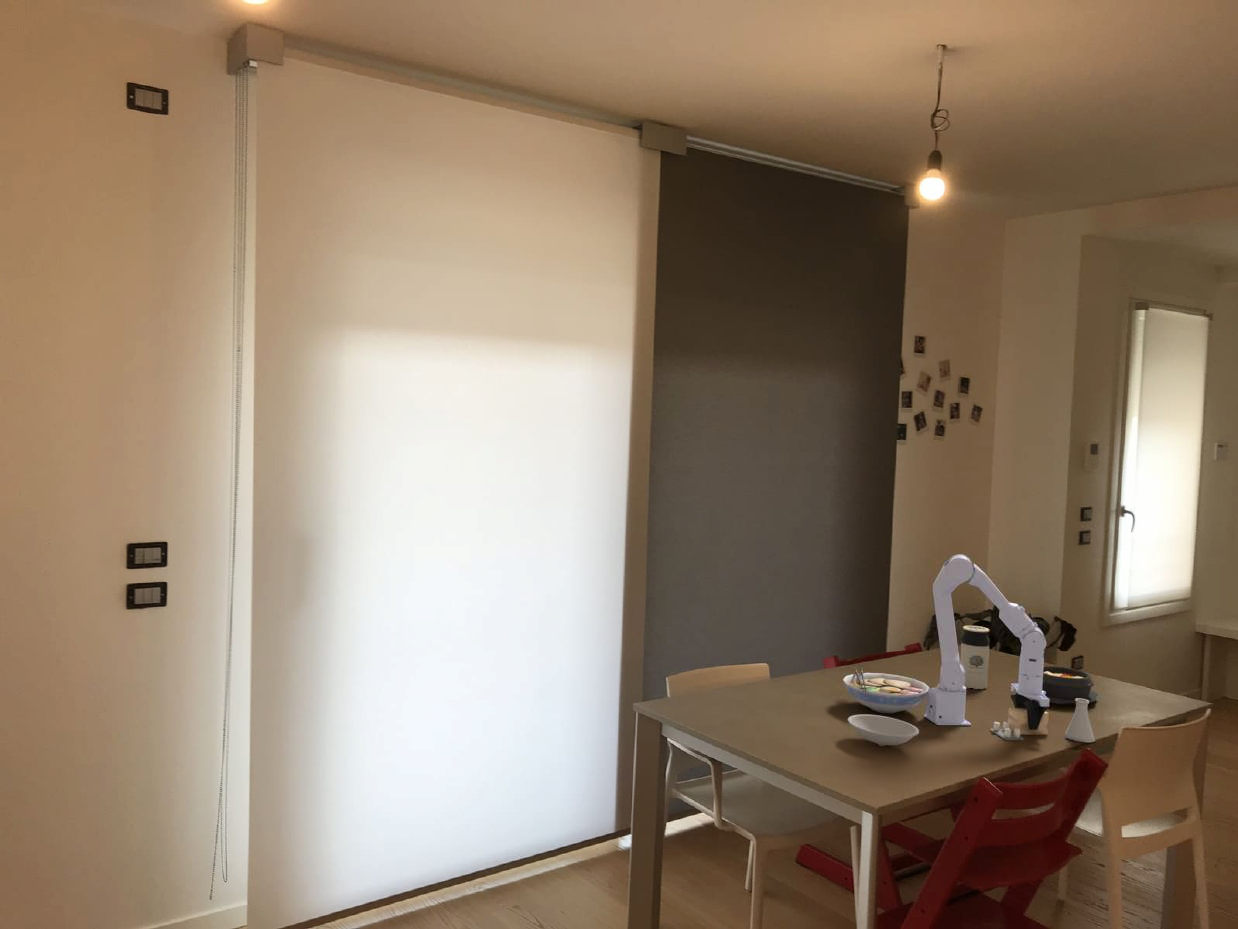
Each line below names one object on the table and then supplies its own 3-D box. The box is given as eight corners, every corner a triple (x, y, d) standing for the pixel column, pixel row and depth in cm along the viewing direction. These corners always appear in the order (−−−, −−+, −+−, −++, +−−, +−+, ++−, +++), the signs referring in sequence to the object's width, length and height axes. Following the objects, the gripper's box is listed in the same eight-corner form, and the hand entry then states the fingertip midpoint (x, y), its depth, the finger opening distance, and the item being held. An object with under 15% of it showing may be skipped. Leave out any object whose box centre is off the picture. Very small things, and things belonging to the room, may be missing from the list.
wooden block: (1016, 734, 242) (1017, 713, 242) (1007, 729, 247) (1008, 708, 247) (1047, 734, 244) (1048, 713, 243) (1037, 729, 248) (1039, 708, 248)
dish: (833, 740, 231) (834, 720, 231) (868, 730, 240) (869, 711, 240) (896, 761, 218) (897, 740, 218) (930, 750, 227) (931, 729, 227)
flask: (1068, 732, 246) (1070, 694, 246) (1098, 739, 242) (1101, 700, 241) (1060, 738, 241) (1063, 699, 240) (1091, 745, 236) (1094, 706, 236)
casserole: (1068, 714, 263) (1070, 684, 263) (1007, 697, 278) (1009, 669, 278) (1113, 702, 278) (1115, 674, 278) (1053, 687, 293) (1054, 660, 293)
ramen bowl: (933, 727, 245) (935, 696, 245) (843, 718, 250) (844, 688, 249) (922, 701, 269) (923, 673, 269) (840, 694, 274) (841, 666, 274)
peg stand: (1005, 740, 237) (1005, 730, 237) (989, 730, 245) (990, 721, 244) (1023, 740, 238) (1024, 730, 238) (1007, 730, 245) (1008, 721, 245)
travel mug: (960, 681, 295) (963, 624, 294) (987, 685, 291) (991, 627, 291) (957, 687, 287) (960, 628, 287) (985, 691, 284) (989, 632, 283)
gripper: (1061, 681, 238) (1058, 735, 238) (1029, 667, 252) (1026, 717, 253) (1035, 681, 237) (1032, 735, 238) (1004, 667, 251) (1001, 717, 252)
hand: (1027, 726), depth 245 cm, fingers closed on wooden block, 4 cm apart
